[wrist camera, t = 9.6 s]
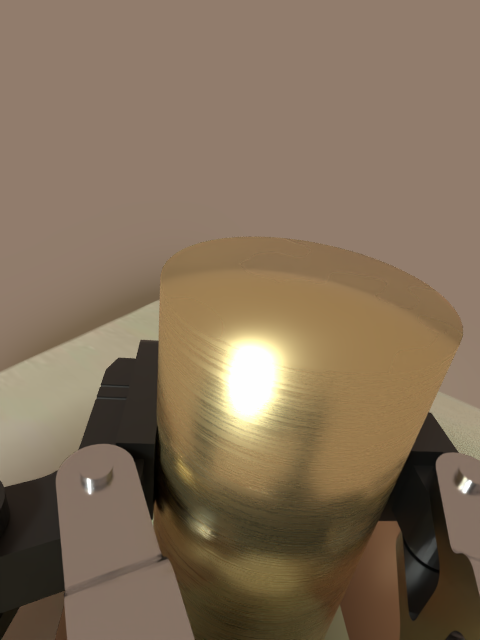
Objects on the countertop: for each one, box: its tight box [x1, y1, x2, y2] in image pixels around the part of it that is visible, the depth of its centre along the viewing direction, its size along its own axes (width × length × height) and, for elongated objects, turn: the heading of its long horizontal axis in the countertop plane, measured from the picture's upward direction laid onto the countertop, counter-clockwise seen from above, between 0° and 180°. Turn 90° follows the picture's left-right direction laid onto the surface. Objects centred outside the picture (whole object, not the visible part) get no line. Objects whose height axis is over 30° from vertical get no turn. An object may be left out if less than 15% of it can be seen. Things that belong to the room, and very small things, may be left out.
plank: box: [55, 514, 400, 640], centre depth 14 cm, size 26×11×2 cm, turn 94°
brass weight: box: [153, 237, 463, 640], centre depth 9 cm, size 5×5×10 cm
